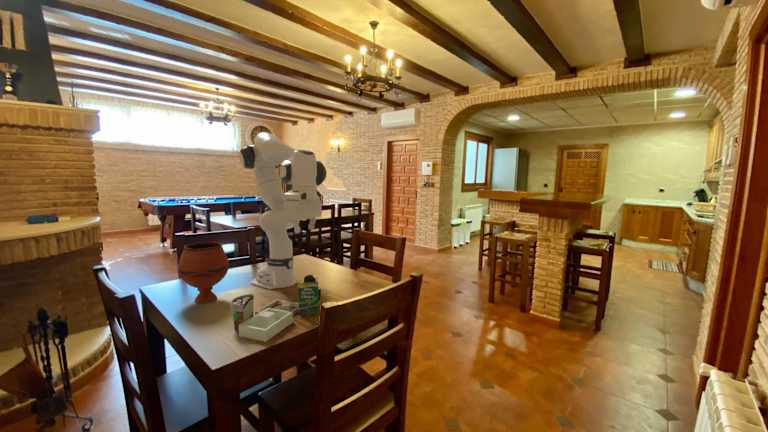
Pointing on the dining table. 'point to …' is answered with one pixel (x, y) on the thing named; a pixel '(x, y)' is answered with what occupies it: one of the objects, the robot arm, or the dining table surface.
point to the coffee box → (308, 298)
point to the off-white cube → (266, 319)
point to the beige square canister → (313, 279)
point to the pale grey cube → (286, 307)
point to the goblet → (203, 268)
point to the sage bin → (254, 332)
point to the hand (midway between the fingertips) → (304, 230)
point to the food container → (242, 309)
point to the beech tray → (278, 303)
